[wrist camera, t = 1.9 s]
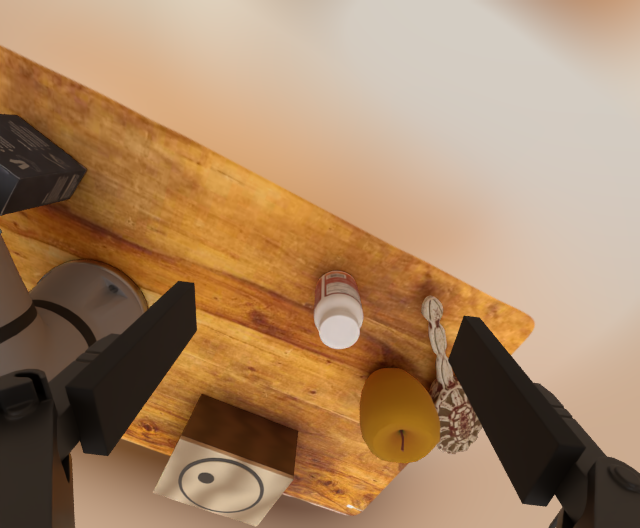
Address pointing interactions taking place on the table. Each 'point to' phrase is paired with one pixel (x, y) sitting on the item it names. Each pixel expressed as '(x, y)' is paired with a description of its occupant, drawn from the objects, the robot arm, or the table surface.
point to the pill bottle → (338, 310)
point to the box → (33, 168)
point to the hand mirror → (448, 390)
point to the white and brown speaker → (230, 462)
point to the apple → (398, 416)
